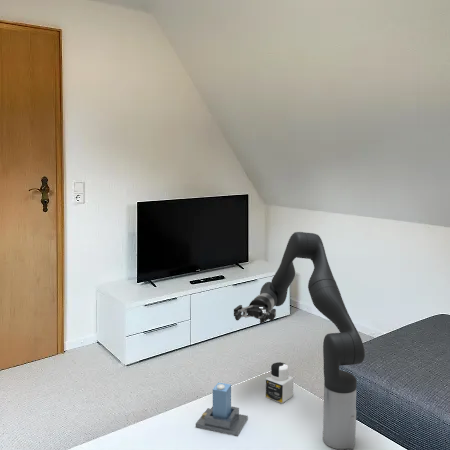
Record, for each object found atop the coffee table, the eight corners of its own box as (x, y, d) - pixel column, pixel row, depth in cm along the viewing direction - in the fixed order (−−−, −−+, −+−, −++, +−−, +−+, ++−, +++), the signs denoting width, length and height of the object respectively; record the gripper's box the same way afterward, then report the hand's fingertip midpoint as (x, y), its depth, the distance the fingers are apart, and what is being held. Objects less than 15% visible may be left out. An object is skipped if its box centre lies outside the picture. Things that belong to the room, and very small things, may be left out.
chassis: (247, 419, 154) (247, 408, 154) (237, 435, 145) (237, 424, 144) (207, 411, 159) (207, 401, 158) (195, 427, 150) (195, 416, 149)
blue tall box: (231, 416, 153) (231, 382, 152) (225, 424, 149) (225, 389, 147) (218, 414, 155) (218, 380, 153) (212, 422, 150) (212, 387, 149)
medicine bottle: (265, 397, 168) (265, 365, 167) (276, 390, 174) (277, 358, 172) (282, 404, 164) (282, 370, 162) (293, 396, 169) (294, 364, 168)
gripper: (243, 293, 177) (228, 306, 162) (281, 297, 173) (269, 310, 157) (243, 313, 178) (228, 327, 163) (280, 317, 174) (269, 332, 158)
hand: (248, 319), depth 160 cm, fingers open, 8 cm apart
